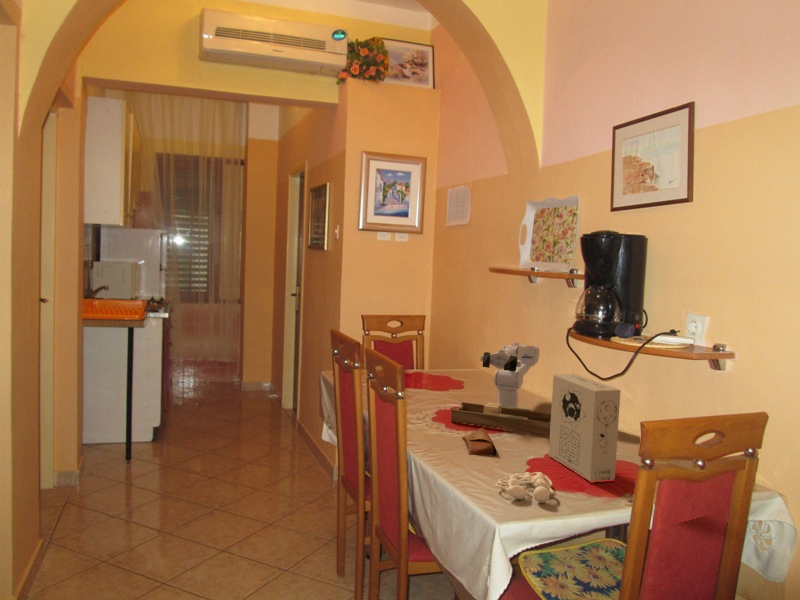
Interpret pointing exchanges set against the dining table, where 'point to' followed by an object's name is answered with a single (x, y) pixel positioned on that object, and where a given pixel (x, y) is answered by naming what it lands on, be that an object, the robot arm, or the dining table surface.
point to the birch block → (492, 409)
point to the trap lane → (504, 418)
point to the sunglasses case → (480, 443)
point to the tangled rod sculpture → (537, 482)
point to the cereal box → (584, 426)
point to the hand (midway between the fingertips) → (494, 365)
